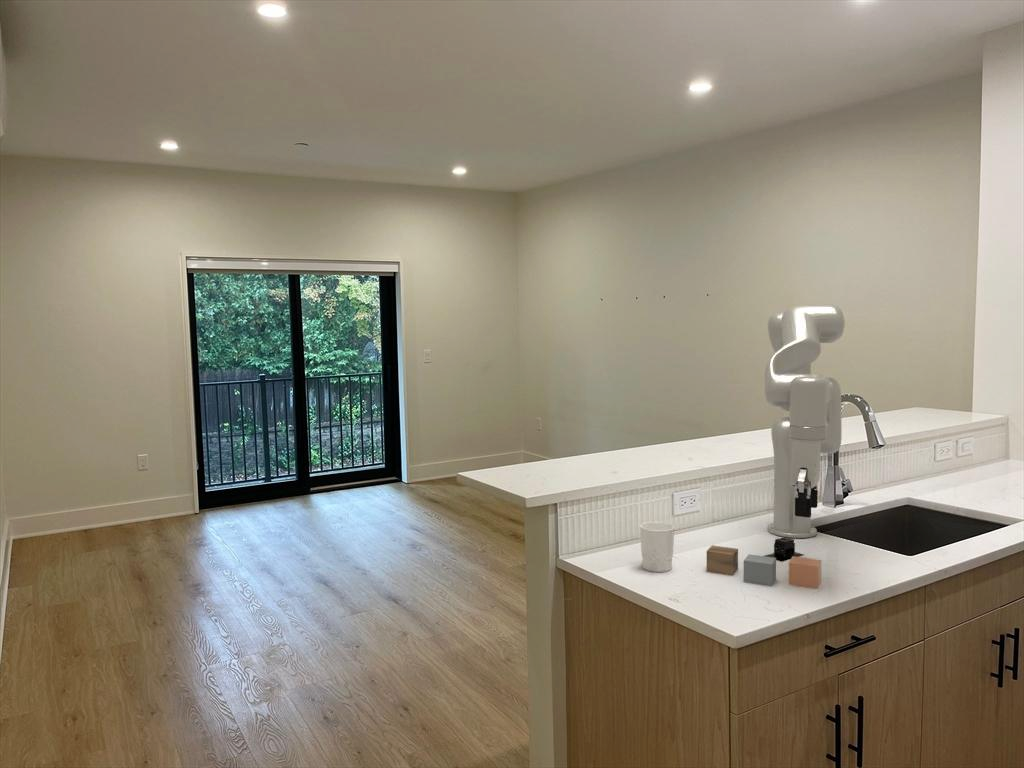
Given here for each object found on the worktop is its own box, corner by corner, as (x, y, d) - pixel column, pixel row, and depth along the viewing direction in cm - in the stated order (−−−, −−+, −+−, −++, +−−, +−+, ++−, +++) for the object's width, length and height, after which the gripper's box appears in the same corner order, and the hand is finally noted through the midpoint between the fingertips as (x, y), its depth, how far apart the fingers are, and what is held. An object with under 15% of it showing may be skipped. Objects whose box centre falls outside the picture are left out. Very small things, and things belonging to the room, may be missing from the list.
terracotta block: (792, 577, 166) (792, 556, 166) (820, 582, 163) (821, 560, 163) (788, 584, 162) (788, 562, 161) (817, 589, 159) (818, 566, 158)
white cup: (669, 561, 178) (669, 521, 177) (677, 572, 170) (678, 530, 169) (637, 562, 178) (637, 522, 177) (644, 573, 170) (644, 531, 169)
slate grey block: (748, 575, 168) (748, 554, 168) (775, 579, 165) (776, 557, 165) (743, 582, 164) (743, 560, 163) (771, 586, 161) (771, 564, 160)
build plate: (788, 549, 188) (788, 532, 188) (813, 557, 182) (813, 538, 182) (755, 558, 181) (756, 540, 181) (780, 566, 175) (781, 547, 175)
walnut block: (712, 565, 175) (712, 545, 175) (737, 569, 172) (738, 548, 172) (706, 572, 171) (706, 551, 170) (732, 576, 168) (733, 554, 167)
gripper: (795, 428, 169) (794, 502, 170) (782, 437, 154) (781, 518, 155) (831, 430, 165) (829, 505, 167) (821, 439, 150) (819, 522, 152)
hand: (806, 511), depth 161 cm, fingers open, 9 cm apart
